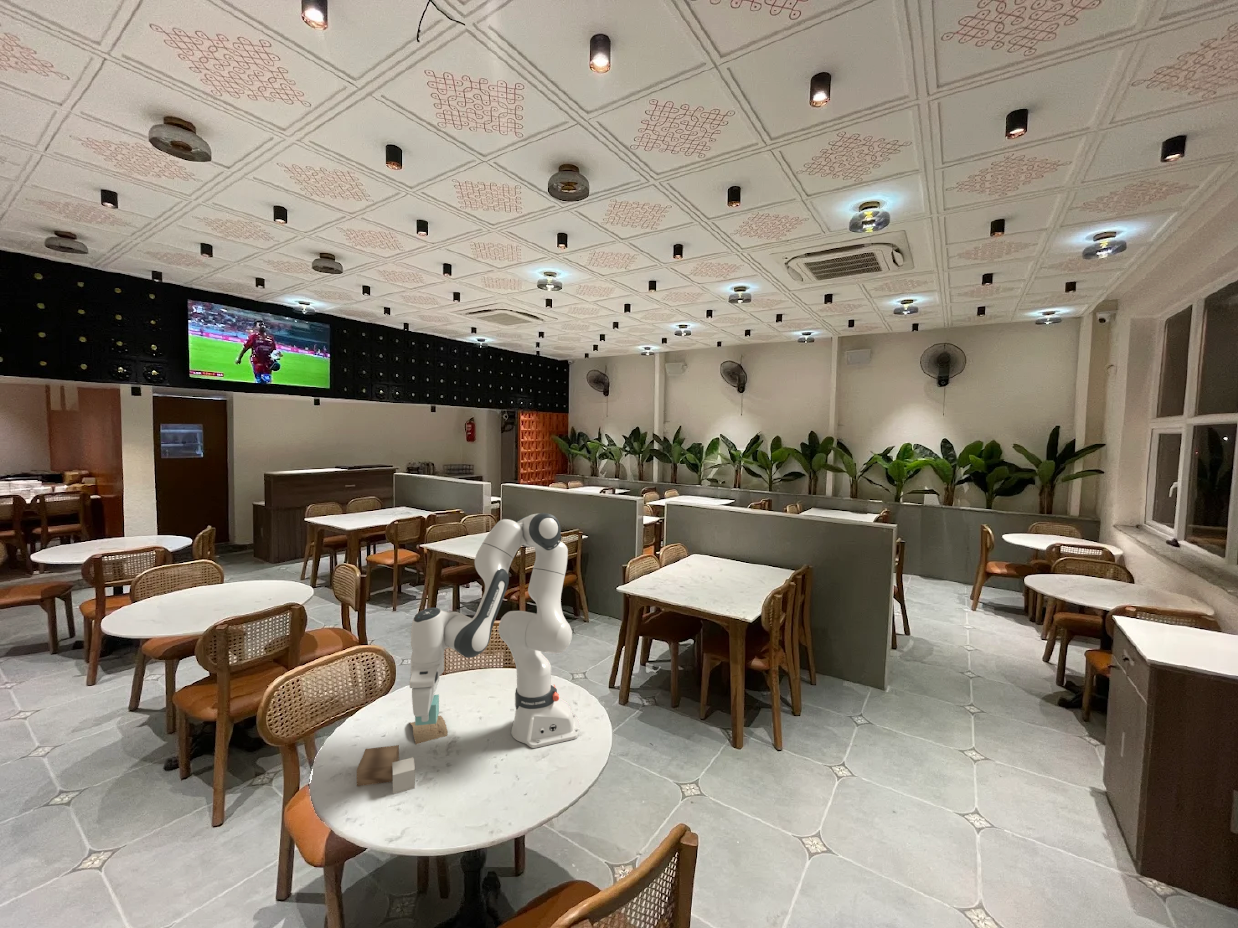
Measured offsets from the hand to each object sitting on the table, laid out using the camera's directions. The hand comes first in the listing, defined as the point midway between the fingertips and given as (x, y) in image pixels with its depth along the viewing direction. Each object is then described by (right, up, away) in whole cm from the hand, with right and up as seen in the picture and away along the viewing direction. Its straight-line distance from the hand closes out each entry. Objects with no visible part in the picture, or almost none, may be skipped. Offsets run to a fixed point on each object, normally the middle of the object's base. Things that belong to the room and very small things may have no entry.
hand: (427, 713), depth 140 cm
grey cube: (-5, -17, -5) cm, 19 cm away
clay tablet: (-8, -16, +20) cm, 27 cm away
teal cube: (0, -2, 0) cm, 2 cm away
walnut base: (-14, -17, -1) cm, 22 cm away
